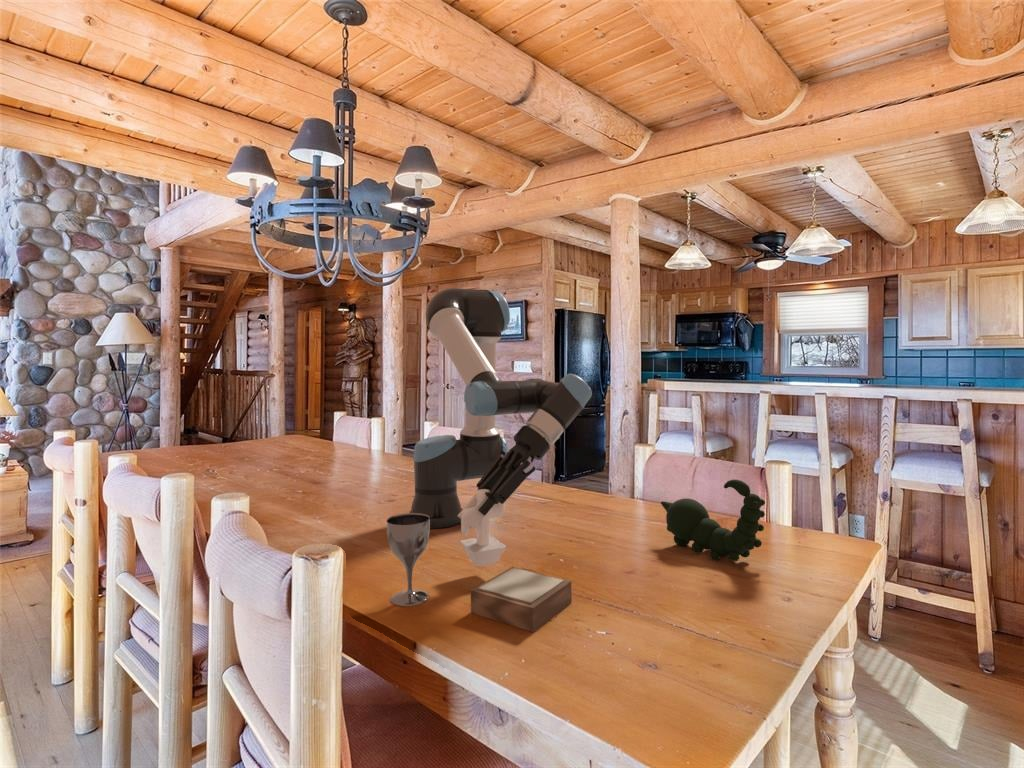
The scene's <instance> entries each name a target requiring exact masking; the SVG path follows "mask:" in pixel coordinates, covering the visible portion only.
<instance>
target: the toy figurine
mask: <svg viewBox="0 0 1024 768" xmlns="http://www.w3.org/2000/svg"><path fill="white" fill-rule="evenodd" d="M723 488H724V489H726V490H727V489H728V488H732V489H734V490H735V492H737V493H738V494H739V495H740V496H743V497H744V498H743V505H742V506H741V508H740V511H739V512H740V513H739V514H740V517H738V518H737V521H736V526H735V527H734V528H733V529H732V530H730V529H729V528H726V527H722V526H721V525H720V523H718V521H716V520H714V519H712V518H710V515H709V513H708V510H707V509H706V507H705V506H704V505H703V504H702V503H701V502H699V501H697V500H695V499H693V498H687V497H684V498H681V499H677V500H675V501H674V502H669V501H664V500H662V501H661V502H660V504H661V506H662V507H663V508H664V510H665V511H666V516H665V519H666V530H667V532H670V533H671V534H672V535H673V541H674V543H675V544H676V545H678V546H681V547H685V546H686V545H688V544H690V542H693V543H692V544H691V551H693V552H694V553H697V554H701V553H703V551H704V550H707V551H708V550H709V551H710V556H709V557H710V558H711V560H713V561H718V560H720V559H721V558H727V557H728V558H729V560H730V561H731V562H738V561H739V559H740V557H742V558H748V557H749V556H750V554H751V553H750V552H751V551H752V550H754V549H755V548H760V547H761V546H762V541H761V539H759V538H757V536H756V535H757V533H758V532H763V531H764V529H765V527H764V525H763V524H761V523H759V521H760V519H761V518H764V516H766V513H765V511H763V510H761V507H762V506H765V504H766V501H765V500H764V499H762V498H761V497H760V496H759V495H758V494H756V493H751V488H750V485H748V484H747V483H746V482H744V481H743V480H740V479H735V478H734V479H730V480H727V481H726V482H725V483H724V485H723Z"/></svg>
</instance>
